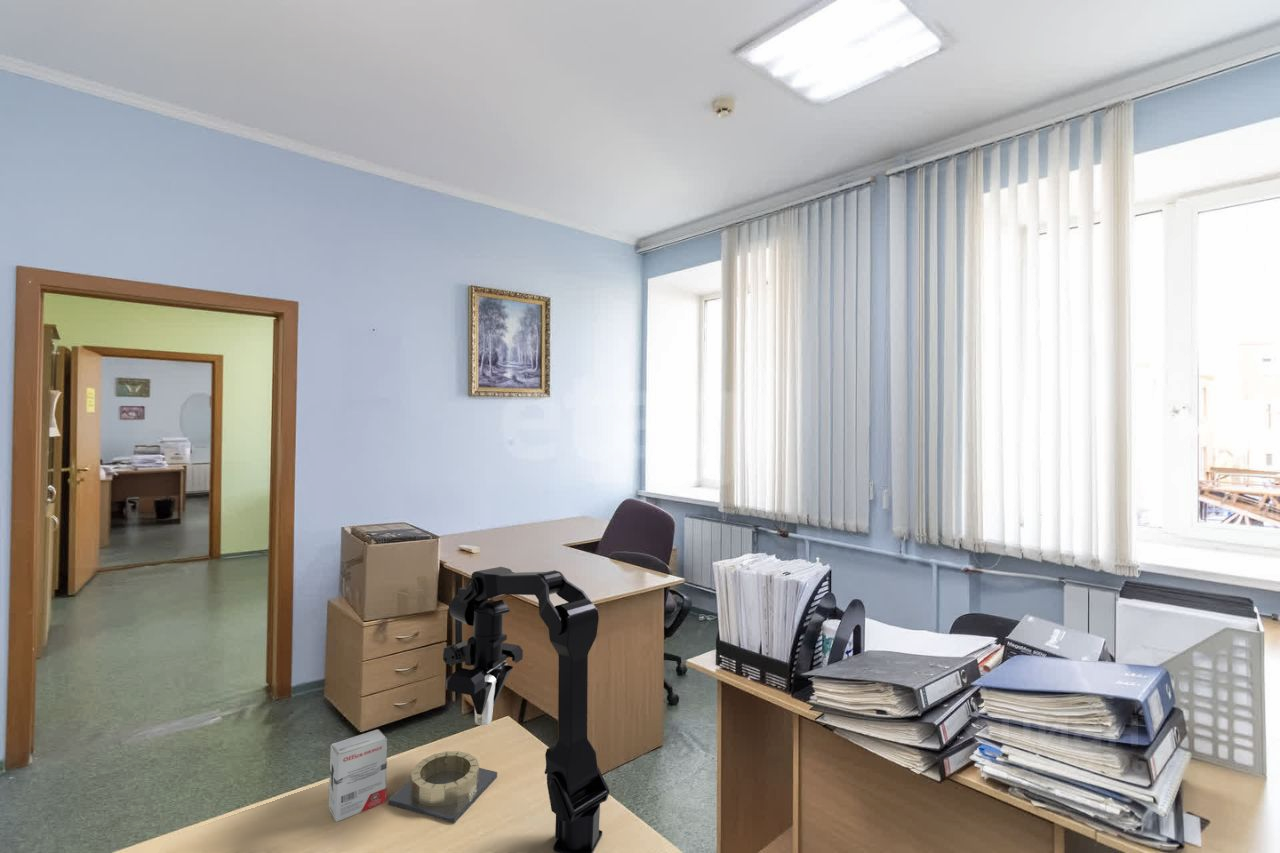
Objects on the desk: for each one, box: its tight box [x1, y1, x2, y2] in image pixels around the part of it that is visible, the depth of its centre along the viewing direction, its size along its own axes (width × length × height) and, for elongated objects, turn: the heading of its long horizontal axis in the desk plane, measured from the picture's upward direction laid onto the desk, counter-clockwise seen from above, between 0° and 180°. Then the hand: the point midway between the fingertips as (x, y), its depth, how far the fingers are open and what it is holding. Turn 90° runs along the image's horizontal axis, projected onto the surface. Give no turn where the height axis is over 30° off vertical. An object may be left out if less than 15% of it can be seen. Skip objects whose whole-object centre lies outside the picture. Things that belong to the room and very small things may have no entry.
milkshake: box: [473, 673, 500, 726], centre depth 116 cm, size 4×5×10 cm
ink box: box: [328, 729, 388, 823], centre depth 105 cm, size 8×5×12 cm, turn 133°
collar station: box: [387, 750, 498, 824], centre depth 110 cm, size 14×14×4 cm
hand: (485, 709), depth 116 cm, fingers closed on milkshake, 4 cm apart
